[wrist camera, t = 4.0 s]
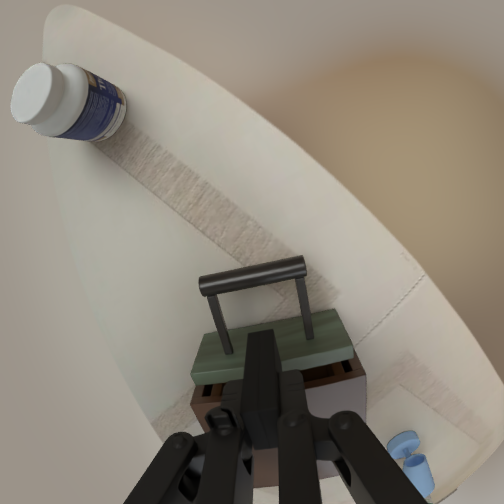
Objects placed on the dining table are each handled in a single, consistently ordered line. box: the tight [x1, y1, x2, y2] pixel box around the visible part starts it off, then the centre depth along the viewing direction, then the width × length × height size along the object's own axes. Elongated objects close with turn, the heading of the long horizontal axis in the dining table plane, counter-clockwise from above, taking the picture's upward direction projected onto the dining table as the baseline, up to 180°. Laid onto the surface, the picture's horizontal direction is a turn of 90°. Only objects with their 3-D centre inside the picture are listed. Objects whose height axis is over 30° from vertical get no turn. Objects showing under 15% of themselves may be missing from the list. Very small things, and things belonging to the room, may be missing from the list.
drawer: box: [190, 255, 354, 396], centre depth 22 cm, size 19×11×6 cm, turn 13°
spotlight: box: [387, 431, 435, 498], centre depth 25 cm, size 5×10×7 cm
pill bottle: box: [11, 63, 126, 142], centre depth 16 cm, size 5×5×10 cm
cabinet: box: [190, 348, 366, 488], centre depth 24 cm, size 14×13×8 cm
